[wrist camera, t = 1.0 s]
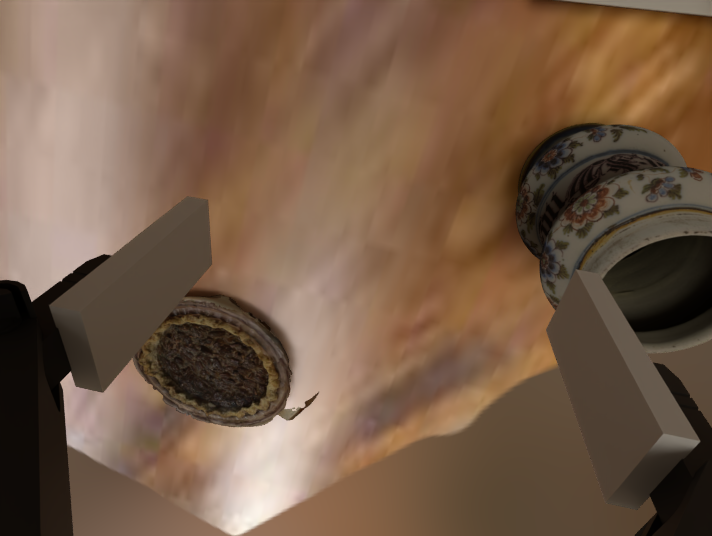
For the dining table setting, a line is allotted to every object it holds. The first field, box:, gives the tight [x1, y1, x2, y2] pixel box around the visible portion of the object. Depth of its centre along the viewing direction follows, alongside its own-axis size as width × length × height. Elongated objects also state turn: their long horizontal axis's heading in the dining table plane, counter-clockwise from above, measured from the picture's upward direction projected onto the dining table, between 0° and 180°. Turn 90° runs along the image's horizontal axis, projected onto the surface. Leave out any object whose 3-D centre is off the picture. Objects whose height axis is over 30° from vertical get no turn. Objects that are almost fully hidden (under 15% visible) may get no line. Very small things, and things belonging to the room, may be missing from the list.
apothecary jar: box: [516, 123, 712, 353], centre depth 30 cm, size 12×12×18 cm
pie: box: [133, 295, 319, 427], centre depth 55 cm, size 28×27×5 cm
